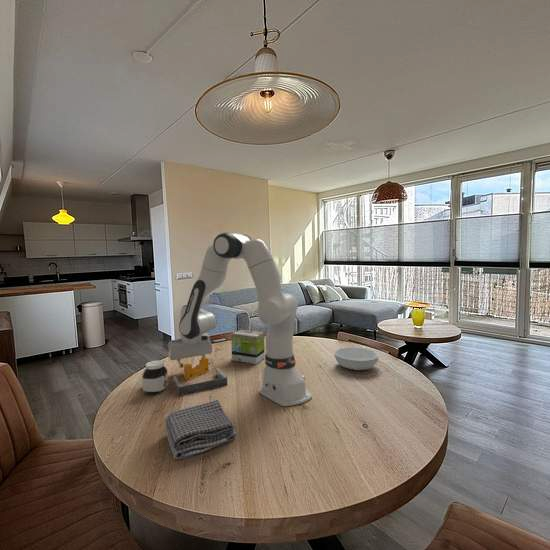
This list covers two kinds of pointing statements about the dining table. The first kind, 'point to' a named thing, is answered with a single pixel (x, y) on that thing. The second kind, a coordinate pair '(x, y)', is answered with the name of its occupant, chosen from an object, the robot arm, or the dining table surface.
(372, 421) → the dining table surface
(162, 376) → the spread jar
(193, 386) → the tray
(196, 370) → the pipe clamp
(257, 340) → the tea box
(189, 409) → the towel
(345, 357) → the serving bowl
